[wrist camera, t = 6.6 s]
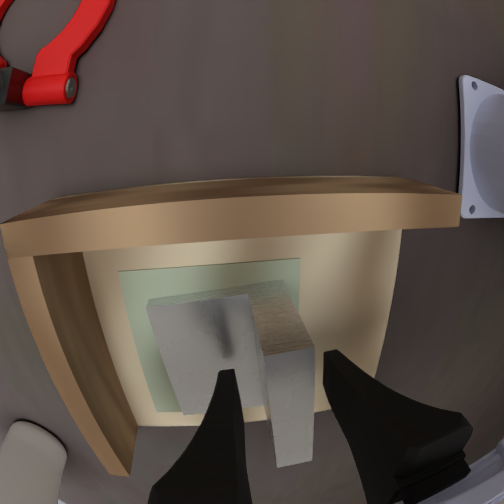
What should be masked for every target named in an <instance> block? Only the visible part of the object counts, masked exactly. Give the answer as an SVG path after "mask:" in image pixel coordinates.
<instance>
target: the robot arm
mask: <svg viewBox="0 0 504 504" xmlns="http://www.w3.org/2000/svg"><path fill="white" fill-rule="evenodd" d="M472 85H473V88H472ZM459 92H460V111H461V159H460V178H459V192H458V194H461V195H462V204H461V213H460V217H462V218H504V90H502V89H500V88H498V87H496V86H493V85H491V84H489V83H486V82H484V81H481V80H479V79H476V78H474V77H471V76H468V75H462V76H460V78H459ZM470 207H471V209H470ZM469 209H470V211H469ZM323 387H324V390H325V393H326V396H327V399H328V402H329V404H330V406H331V409H332V411H333V413H334V415H335V417H336V419H337V421H338V423H339V425H340V427H341V429H342V431H343V433H344V435H345V437H346V439H347V441H348V443H349V446H350V448H351V451H352V454H353V457H354V460H355V463H356V466H357V469H358V472H359V475H360V478H361V482H362V485H363V489H364V492H365V496H366V500H367V504H497V503H498V502H499V501H501V500H502V499H503V498H504V438H503V439H502V440H501V441H500V442H499V443H498V445H497V446H496V449H494V450H493V451H491V452H490V453H488V454H487V455H485V456H484V457H482V458H481V459H479V460H478V461H476V462H474V463H473V464H471V465H470V466H468V464H467V463H466V461H465V460H464V458H465V457H466V454H465V453H464V451H463V448H464V446H465V445H466V443H467V442H468V440H469V439H470V437H471V435H472V431H473V428H472V426H471V425H470V423H469V422H468V421H467V419H466V418H465V417H464V416H463V415H462V414H461V413H459V412H453V411H448V410H443V409H439V408H435V407H432V406H429V405H426V404H423V403H420V402H417V401H415V400H412V399H410V398H408V397H405V396H403V395H401V394H399V393H397V392H395V391H393V390H391V389H390V388H388V387H386V386H385V385H383V384H382V383H380V382H379V381H377V380H376V379H374V378H373V377H371V376H370V375H369V374H367V373H366V372H364V371H363V370H362V369H361V368H359V367H358V366H357V365H355V364H354V363H353V362H352V361H351V360H349V359H348V358H347V357H346V356H345V355H344V354H342V353H341V352H340V351H339V350H337V349H334V350H330V351H326V352H324V355H323ZM148 504H252V499H251V493H250V487H249V481H248V475H247V469H246V456H245V434H244V417H243V411H242V405H241V399H240V394H239V389H238V384H237V379H236V375H235V370H234V369H227V370H220V371H219V372H218V376H217V381H216V385H215V389H214V392H213V395H212V398H211V401H210V404H209V406H208V409H207V411H206V413H205V416H204V418H203V420H202V422H201V424H200V426H199V428H198V430H197V432H196V434H195V435H194V437H193V439H192V440H191V442H190V443H189V445H188V446H187V448H186V449H185V451H184V452H183V454H182V455H181V456H180V457H179V459H178V460H177V461H176V462H175V464H174V465H173V466H172V467H171V468H170V469H169V471H168V472H167V473H166V474H165V475H164V476H163V477H162V478H161V479H160V480H159V481H158V482H156V483H155V484H154V485H153V486H152V489H151V492H150V495H149V500H148Z"/></svg>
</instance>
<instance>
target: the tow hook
mask: <svg viewBox="0 0 504 504" xmlns="http://www.w3.org/2000/svg"><path fill="white" fill-rule="evenodd" d="M12 1H13V0H0V21H1V19H2V17H3V15H4V13H5V11H6V9H7V8H8V6H9V5H10V4H11V2H12ZM114 4H115V0H81V3H80V5H79V7H78V9H77V11H76V12H75V14H74V16H73V18H72V19H71V20H70V22H69V23H68V24H67V26H66V27H65V28H64V29H63V31H62V32H61V33H60V34H59V35H58V36H57V37H56V38H55V39H54V40H53V41H52V42H51V43H49V44H48V45H46V46H45V47H44V48H42V49H41V50H40V51H39V53H38V54H37V56H36V60H35V64H34V68H33V72H32V74H29V73H27V72H24V71H22V70H19V69H16V68H14V67H7V63H6V60H4V59H3V58H2V57H1V55H0V111H8V110H17V109H27V108H29V107H31V106H38V105H52V104H70V103H72V101H73V100H74V98H75V96H76V92H77V84H78V83H77V76H76V74H75V73H74V69H75V65H76V61H77V58H78V57H79V56H80V55H81V54H82V53H83V52H84V51H85V50H86V49H87V48H88V47H89V45H90V44H91V43H92V42H93V40H94V39H95V38H96V36H97V35H98V34H99V33H100V31H101V30H102V29H103V27H104V25H105V23H106V21H107V19H108V17H109V15H110V14H111V12H112V10H113V8H114Z"/></svg>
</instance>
